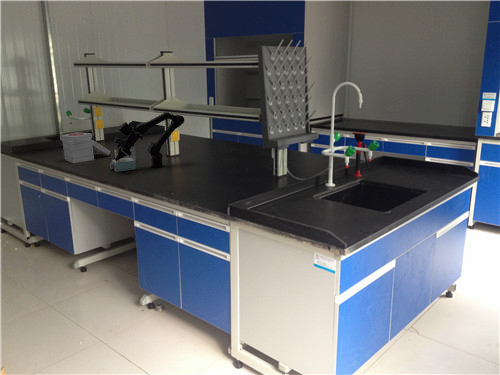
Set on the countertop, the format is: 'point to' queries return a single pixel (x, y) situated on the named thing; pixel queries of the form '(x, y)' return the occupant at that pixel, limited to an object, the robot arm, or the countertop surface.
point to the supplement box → (131, 154)
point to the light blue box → (112, 164)
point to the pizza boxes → (80, 147)
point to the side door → (124, 164)
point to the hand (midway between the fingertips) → (115, 160)
